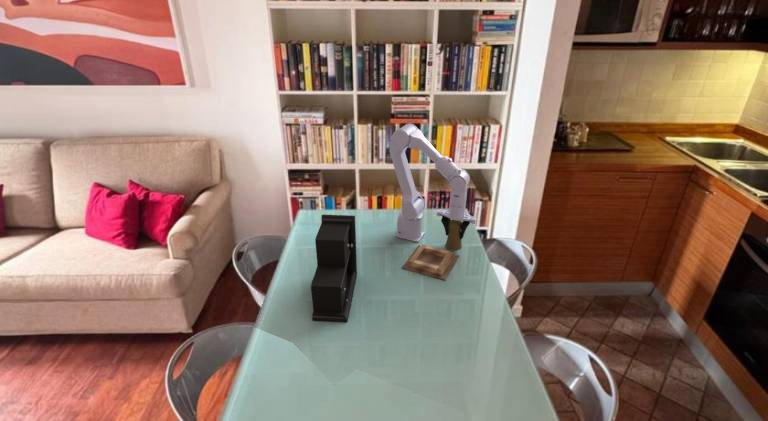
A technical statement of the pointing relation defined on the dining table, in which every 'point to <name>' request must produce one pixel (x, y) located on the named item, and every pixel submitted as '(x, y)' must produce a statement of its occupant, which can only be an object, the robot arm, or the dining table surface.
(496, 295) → the dining table surface
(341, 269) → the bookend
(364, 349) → the dining table surface
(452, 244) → the cork
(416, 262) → the socket block
